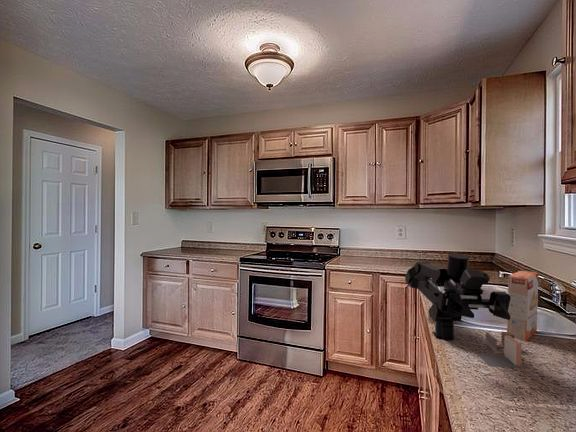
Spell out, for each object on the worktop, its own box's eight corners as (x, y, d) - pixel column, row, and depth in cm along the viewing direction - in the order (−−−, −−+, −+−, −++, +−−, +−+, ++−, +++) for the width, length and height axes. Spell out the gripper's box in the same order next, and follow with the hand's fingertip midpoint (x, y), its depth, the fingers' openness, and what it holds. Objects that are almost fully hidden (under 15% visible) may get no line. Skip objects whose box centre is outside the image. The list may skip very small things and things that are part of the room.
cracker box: (528, 343, 103) (529, 278, 102) (506, 337, 107) (506, 275, 107) (538, 331, 112) (539, 272, 111) (517, 327, 117) (518, 269, 116)
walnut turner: (507, 345, 101) (507, 330, 101) (516, 353, 96) (517, 337, 95) (485, 344, 102) (485, 329, 102) (494, 352, 96) (494, 336, 96)
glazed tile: (504, 355, 93) (504, 335, 93) (509, 356, 93) (509, 335, 93) (515, 365, 87) (515, 344, 87) (521, 366, 87) (521, 344, 87)
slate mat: (476, 354, 95) (476, 352, 95) (508, 356, 94) (508, 354, 94) (488, 368, 87) (488, 365, 87) (524, 370, 86) (524, 368, 86)
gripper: (433, 264, 96) (459, 286, 80) (495, 267, 96) (534, 289, 80) (428, 298, 98) (453, 326, 83) (489, 301, 98) (525, 330, 83)
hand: (491, 317), depth 82 cm, fingers open, 9 cm apart
